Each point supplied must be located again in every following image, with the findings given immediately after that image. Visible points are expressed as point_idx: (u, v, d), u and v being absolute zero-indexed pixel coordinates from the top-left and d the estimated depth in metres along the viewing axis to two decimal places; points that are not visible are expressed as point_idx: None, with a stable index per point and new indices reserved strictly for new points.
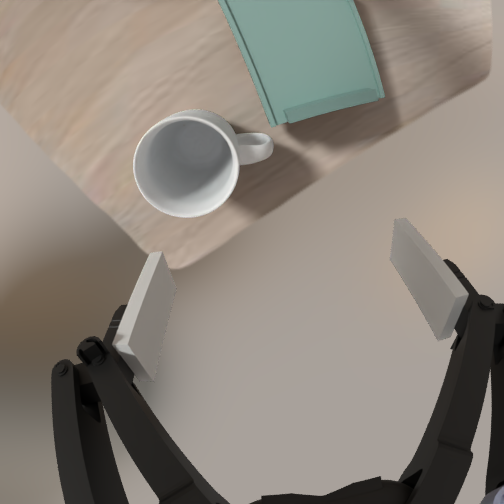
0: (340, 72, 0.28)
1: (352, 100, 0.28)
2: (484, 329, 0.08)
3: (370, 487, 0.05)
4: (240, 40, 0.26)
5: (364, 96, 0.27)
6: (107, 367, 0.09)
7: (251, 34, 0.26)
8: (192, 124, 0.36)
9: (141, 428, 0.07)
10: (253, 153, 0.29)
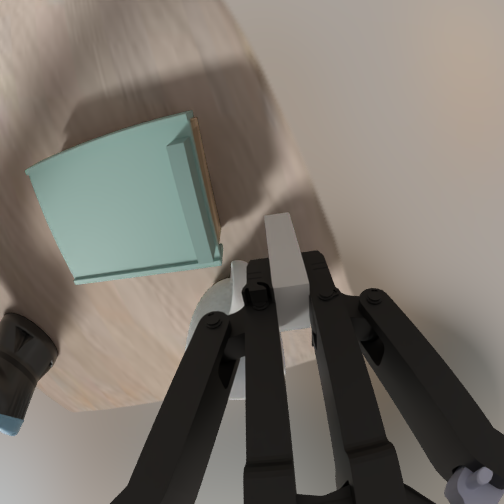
0: (153, 176, 0.24)
1: (185, 182, 0.22)
2: (337, 320, 0.10)
3: None
4: (121, 276, 0.30)
5: (178, 165, 0.21)
6: (266, 316, 0.11)
7: (115, 263, 0.29)
8: None
9: (272, 389, 0.08)
10: None
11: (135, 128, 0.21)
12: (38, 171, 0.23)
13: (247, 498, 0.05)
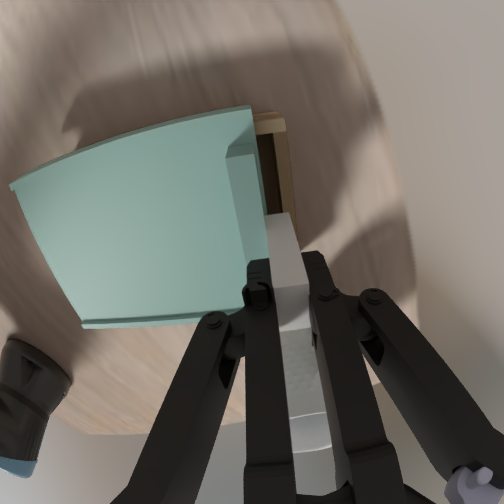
0: (194, 198, 0.17)
1: (251, 214, 0.15)
2: (336, 320, 0.10)
3: None
4: (145, 323, 0.23)
5: (243, 188, 0.14)
6: (266, 316, 0.11)
7: (135, 308, 0.22)
8: None
9: (272, 389, 0.08)
10: None
11: (170, 126, 0.14)
12: (26, 186, 0.16)
13: (247, 498, 0.05)
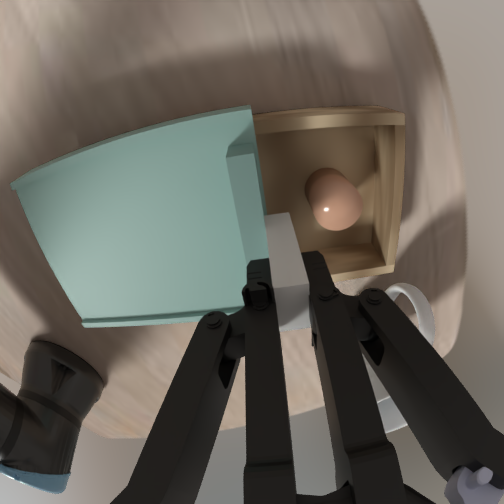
0: (195, 197, 0.18)
1: (251, 213, 0.15)
2: (336, 320, 0.10)
3: None
4: (145, 322, 0.23)
5: (243, 187, 0.15)
6: (266, 316, 0.11)
7: (136, 306, 0.23)
8: None
9: (272, 389, 0.08)
10: None
11: (171, 126, 0.15)
12: (27, 185, 0.16)
13: (247, 498, 0.05)
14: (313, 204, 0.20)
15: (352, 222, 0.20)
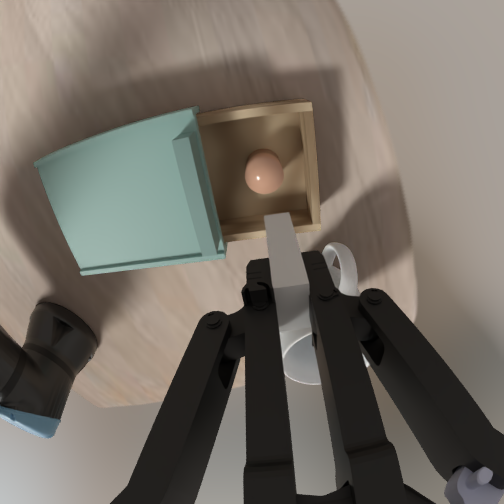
0: (159, 169, 0.25)
1: (189, 176, 0.23)
2: (337, 320, 0.10)
3: None
4: (127, 267, 0.30)
5: (183, 159, 0.22)
6: (266, 316, 0.11)
7: (120, 254, 0.30)
8: None
9: (272, 389, 0.08)
10: (346, 294, 0.27)
11: (142, 122, 0.22)
12: (46, 164, 0.24)
13: (247, 498, 0.05)
14: (245, 174, 0.27)
15: (277, 187, 0.27)
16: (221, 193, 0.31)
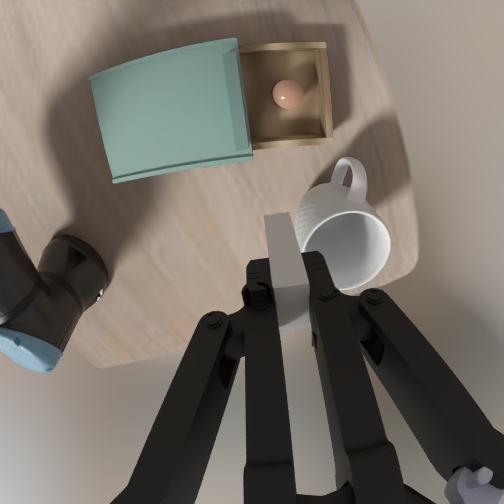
0: (204, 82, 0.28)
1: (233, 80, 0.26)
2: (337, 320, 0.10)
3: None
4: (161, 171, 0.34)
5: (230, 67, 0.25)
6: (266, 316, 0.11)
7: (156, 159, 0.33)
8: None
9: (271, 389, 0.08)
10: (358, 189, 0.30)
11: (195, 44, 0.25)
12: (101, 78, 0.27)
13: (247, 498, 0.05)
14: (273, 92, 0.30)
15: (298, 104, 0.31)
16: (249, 114, 0.35)
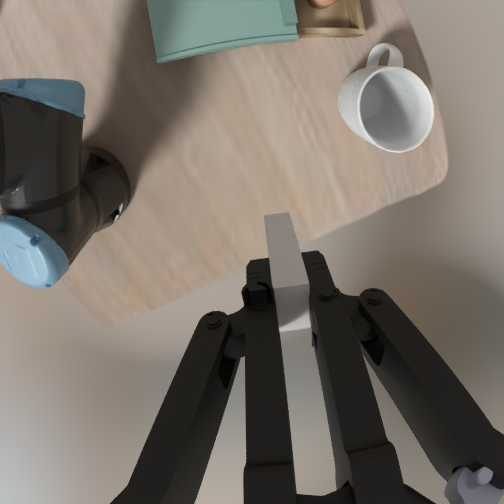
0: None
1: None
2: (337, 320, 0.10)
3: None
4: (209, 46, 0.29)
5: None
6: (266, 316, 0.11)
7: (205, 38, 0.29)
8: None
9: (272, 389, 0.08)
10: (396, 57, 0.26)
11: None
12: None
13: (247, 498, 0.05)
14: None
15: (333, 1, 0.26)
16: None
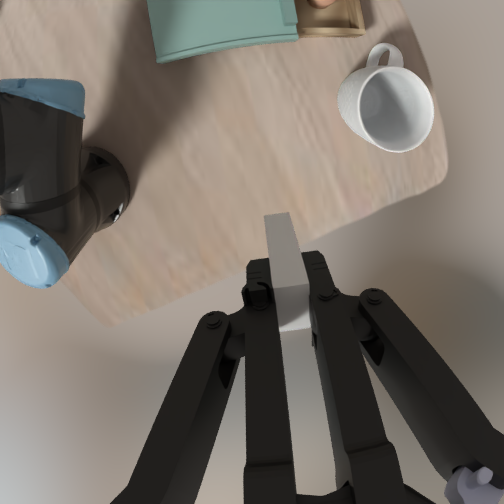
0: None
1: None
2: (337, 320, 0.10)
3: None
4: (209, 46, 0.29)
5: None
6: (266, 316, 0.11)
7: (205, 38, 0.29)
8: None
9: (272, 389, 0.08)
10: (396, 57, 0.26)
11: None
12: None
13: (247, 498, 0.05)
14: None
15: (333, 1, 0.26)
16: None
